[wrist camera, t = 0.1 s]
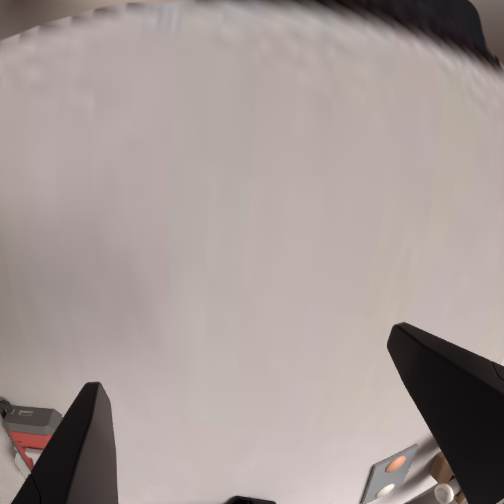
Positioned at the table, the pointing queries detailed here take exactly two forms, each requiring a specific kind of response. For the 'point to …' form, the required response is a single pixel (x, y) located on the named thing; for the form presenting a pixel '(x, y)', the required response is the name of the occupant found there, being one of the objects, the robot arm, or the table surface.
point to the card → (389, 474)
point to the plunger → (447, 491)
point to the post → (444, 474)
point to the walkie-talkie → (29, 432)
